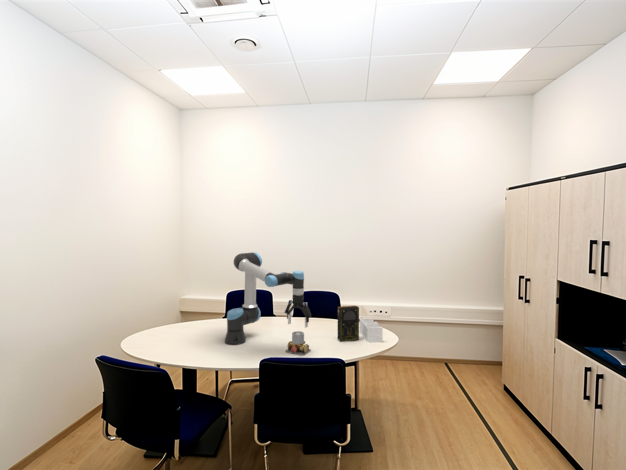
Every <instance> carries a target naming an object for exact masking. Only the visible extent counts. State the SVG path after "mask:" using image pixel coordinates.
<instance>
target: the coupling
mask: <svg viewBox="0 0 626 470" xmlns="http://www.w3.org/2000/svg"><path fill="white" fill-rule="evenodd" d="M296 332H300V333H301V334H296ZM291 341H292V343H294V344H302V343H304V341H305V332H304V331H301V330H299V331H292V333H291Z"/></svg>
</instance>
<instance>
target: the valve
mask: <svg viewBox="0 0 626 470" xmlns="http://www.w3.org/2000/svg"><path fill="white" fill-rule="evenodd" d="M295 332H296V331H295ZM296 334H301V333H300V332H296ZM311 351H312V349H310V345H309V344H308V343H306V340H304V343H302V344H294V343H292V340H290V341H289V340H288V343H287V349H286V350H285V352H286V353H289V354H294V355H298V356H301V357H302V356H305V355H306V354H308V353H310V352H311Z"/></svg>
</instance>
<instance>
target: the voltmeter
mask: <svg viewBox="0 0 626 470" xmlns="http://www.w3.org/2000/svg"><path fill="white" fill-rule="evenodd" d="M337 339H338V341H339V342H341V343H342V342H352V341H353V342H355V341H359V340H360V307H359V306H357V305H343V306H341V305H340V306H337Z"/></svg>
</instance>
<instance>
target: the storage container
mask: <svg viewBox="0 0 626 470" xmlns="http://www.w3.org/2000/svg"><path fill="white" fill-rule="evenodd" d="M383 330H384V328H383V326H379V322H377V321H374V318H359V334H361V336H362V337H363V336H364V337H363V338H364V340H365V341H366V342H367V343H368V342H369V343H383V340H384V339H383V337H384V336H383Z"/></svg>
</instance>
